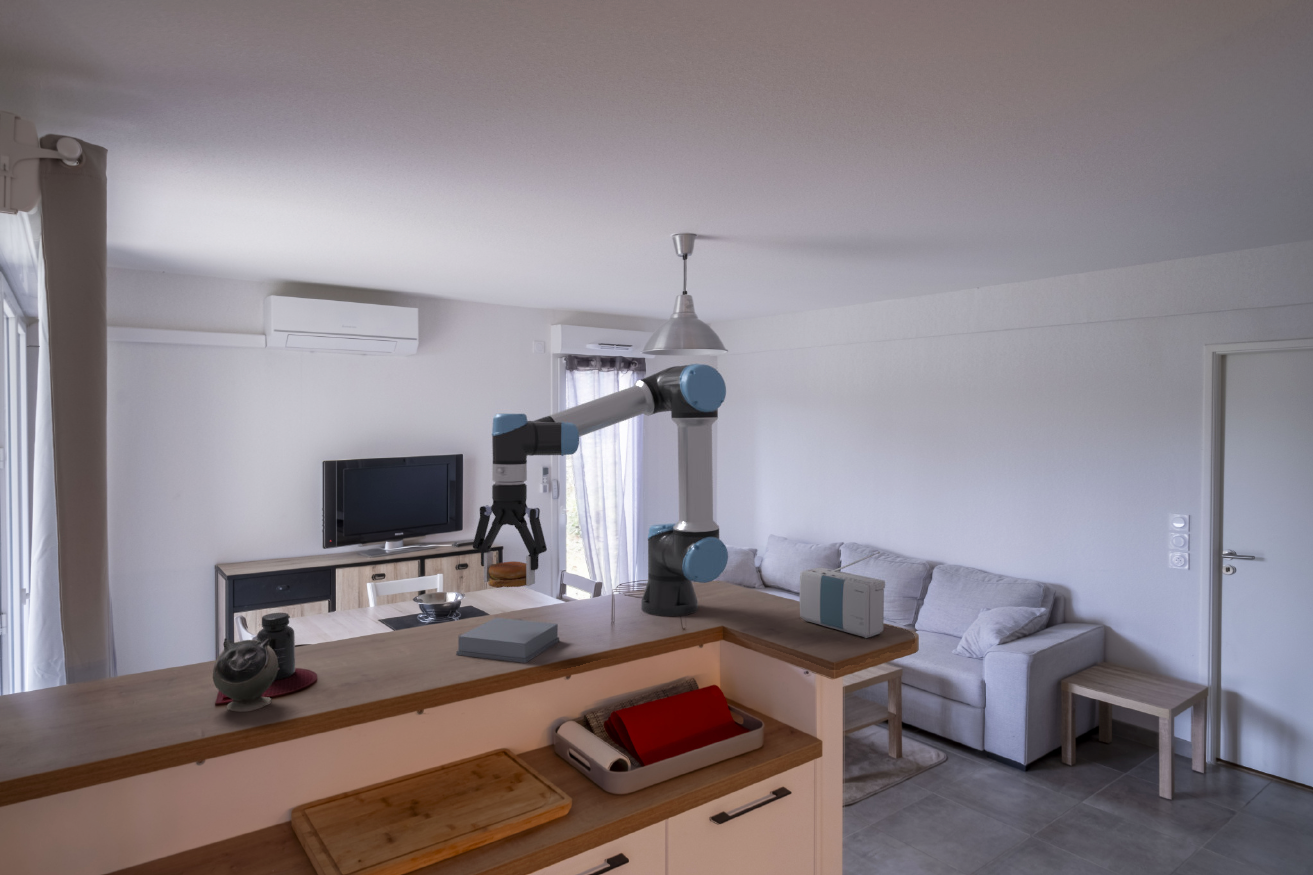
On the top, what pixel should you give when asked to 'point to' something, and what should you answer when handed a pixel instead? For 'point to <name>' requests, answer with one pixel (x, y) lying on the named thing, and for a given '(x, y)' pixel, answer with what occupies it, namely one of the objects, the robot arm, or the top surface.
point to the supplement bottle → (280, 641)
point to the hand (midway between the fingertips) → (509, 582)
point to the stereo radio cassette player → (842, 600)
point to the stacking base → (508, 640)
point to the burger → (507, 574)
